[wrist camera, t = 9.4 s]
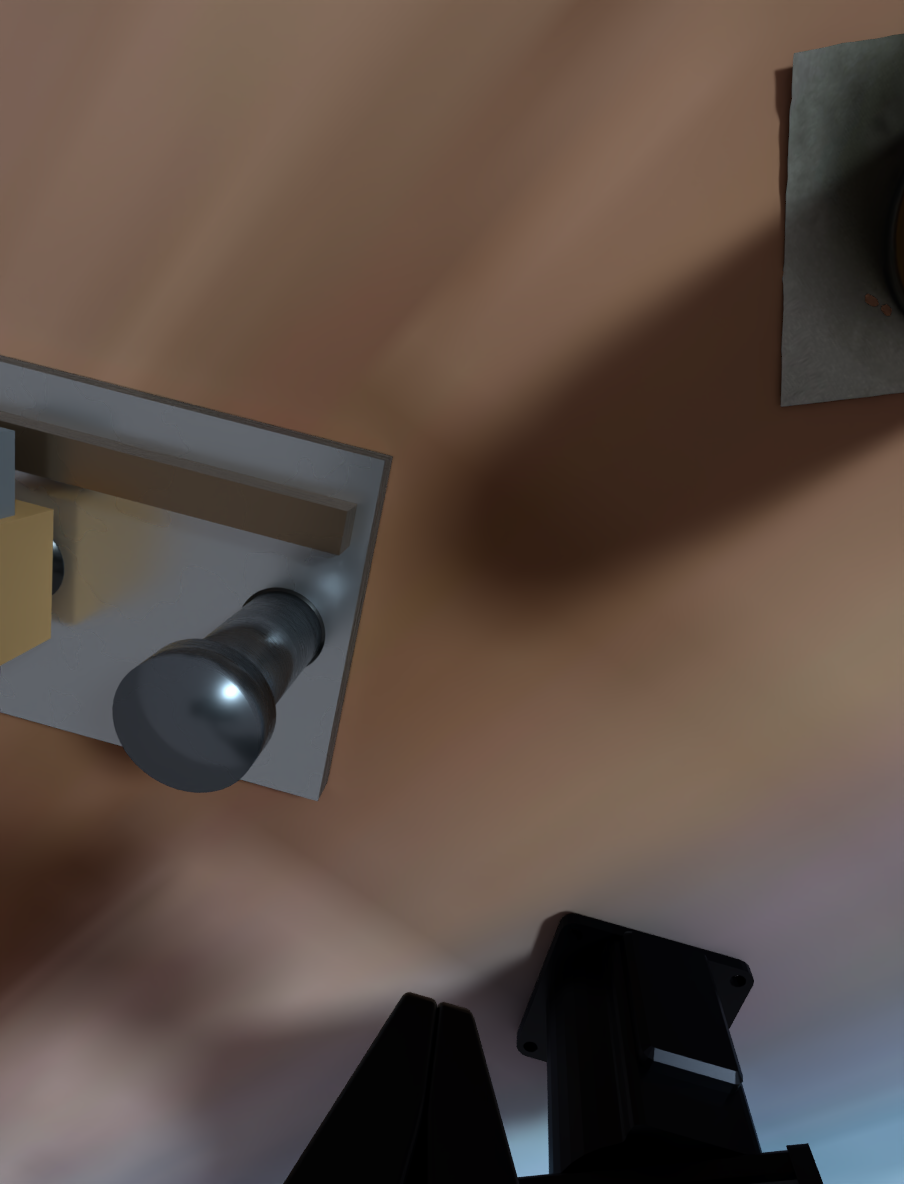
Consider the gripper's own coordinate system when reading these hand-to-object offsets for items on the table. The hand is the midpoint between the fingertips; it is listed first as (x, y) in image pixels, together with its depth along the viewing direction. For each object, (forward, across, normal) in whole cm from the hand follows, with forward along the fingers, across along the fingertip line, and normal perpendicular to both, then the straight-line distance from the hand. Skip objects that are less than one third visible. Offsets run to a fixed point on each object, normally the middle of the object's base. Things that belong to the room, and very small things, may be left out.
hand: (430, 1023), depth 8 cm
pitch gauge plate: (+12, +12, +1) cm, 17 cm away
